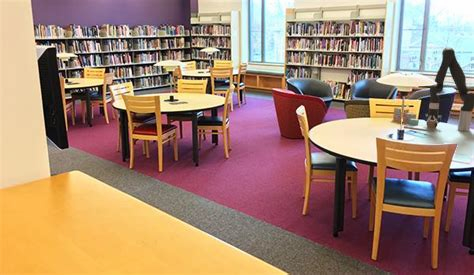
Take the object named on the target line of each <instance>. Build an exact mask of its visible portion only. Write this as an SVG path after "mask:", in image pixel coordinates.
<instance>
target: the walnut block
mask: <svg viewBox="0 0 474 275" xmlns="http://www.w3.org/2000/svg"><path fill="white" fill-rule="evenodd" d="M435 123H436V122H435V120H433V119H430V120H429V121H428V124H427V123H426V124H427V125H426V127H431V128H436V129H437V127H435Z"/></svg>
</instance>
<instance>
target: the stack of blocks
mask: <svg viewBox="0 0 474 275" xmlns="http://www.w3.org/2000/svg"><path fill="white" fill-rule="evenodd" d="M401 108H402V107H394V108H393V119H392V120H393V121H395V122H399V123H401V122H400V121H401ZM409 110H410V109H408V108H404V113H403V122H402V123H403V124H410V119H417V113H414V112H413V113H412V112H410V111H409Z"/></svg>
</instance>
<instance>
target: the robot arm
mask: <svg viewBox="0 0 474 275" xmlns="http://www.w3.org/2000/svg"><path fill="white" fill-rule="evenodd" d="M441 54H442V55H441V56H442V60H441V64H440V66H439V69H438V70H437V72H436V75H435V78H434V82H435V83H436V85H435V84H434V85H431V86H430V88H429V96H430V99H429V100H430V102H429V105H428V106H429V107H428V113H425V114H424V115H423V116H424V122H426V125H425V126H427V124H428V121H429V120H434V121H435V122H436V123H435V127H436V128H437V127H438V124H439V123H440V122H441V121H442V115H439V110H440V108H439V107H440V96H439V95H437V94H440V93H442V92H443V90H444V81H445V80H446V79H445V78H446V76H447V72H448V69H449V72H450V75H451V78H452V80H453V82H454V85H455V86H456V89H457V91H458V95H459V98H460V99H461V100H460V101H462V102H463V105H462V106H460V109H459V117H458V126H457V131H460V132H470V131H471V130H470V129H471V126H472V124H471V123H472V119H473V118H472V116H473V110H474V92H472V91H471V92H470V91H469V89H468V87H467V83H466V82H467V81H466V75H465V73H464V70H463V68H462V67H461V65H460V63H459V62H458V60H457V57H456V52H455V50H454V48H452V47H449V46H448V47H445V48H444V49H443V50H442V53H441ZM427 117H428V118H427Z"/></svg>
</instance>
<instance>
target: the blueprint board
mask: <svg viewBox="0 0 474 275" xmlns="http://www.w3.org/2000/svg"><path fill="white" fill-rule="evenodd" d="M403 128H404V129H409V130H417V131H424V132H431V133H433V132H435V131H437V127H436V128H431V127H427V126H422V125H418V126H416V125H409V124H408V123H406V124H405V125H404V126H403Z"/></svg>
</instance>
